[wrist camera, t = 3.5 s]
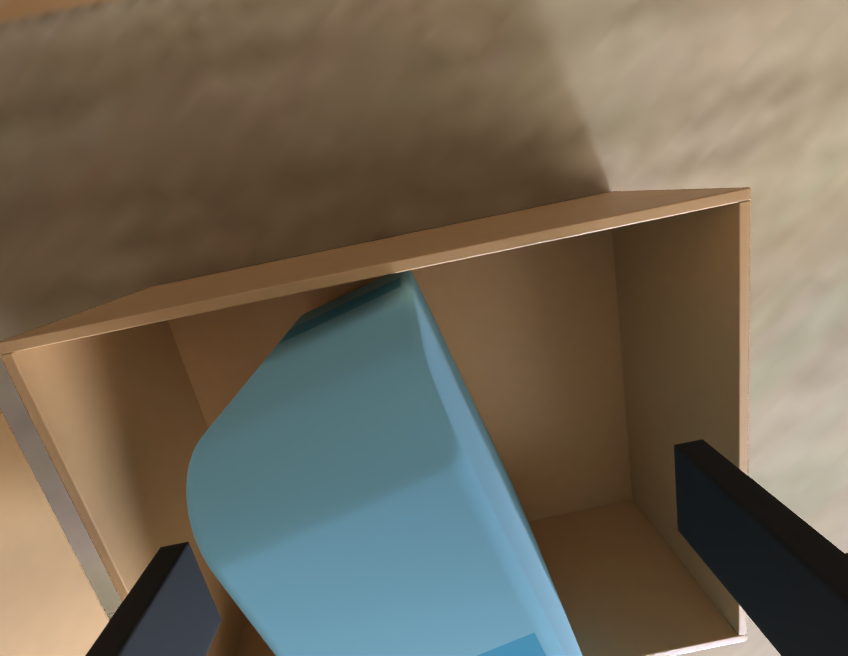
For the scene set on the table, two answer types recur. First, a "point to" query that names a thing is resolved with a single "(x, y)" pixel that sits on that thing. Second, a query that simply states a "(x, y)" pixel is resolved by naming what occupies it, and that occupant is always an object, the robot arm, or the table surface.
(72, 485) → the carton
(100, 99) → the table surface
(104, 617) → the flap
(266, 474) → the light blue flat block
